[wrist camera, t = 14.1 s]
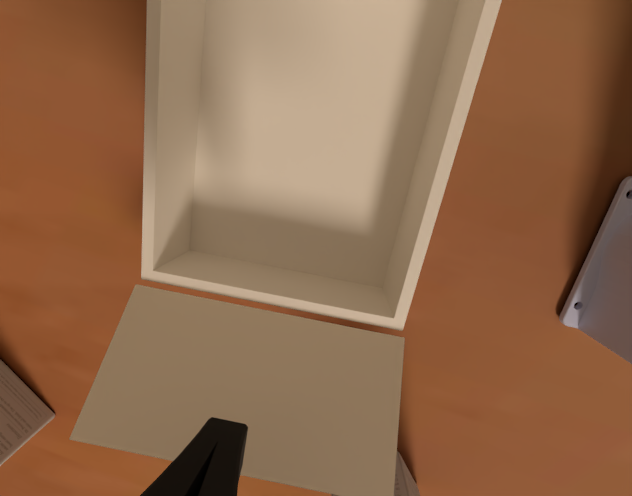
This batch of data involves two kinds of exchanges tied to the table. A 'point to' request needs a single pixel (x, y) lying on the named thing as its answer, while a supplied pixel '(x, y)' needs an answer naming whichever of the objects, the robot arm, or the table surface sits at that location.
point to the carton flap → (251, 391)
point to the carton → (304, 146)
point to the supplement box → (18, 413)
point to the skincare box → (403, 480)
